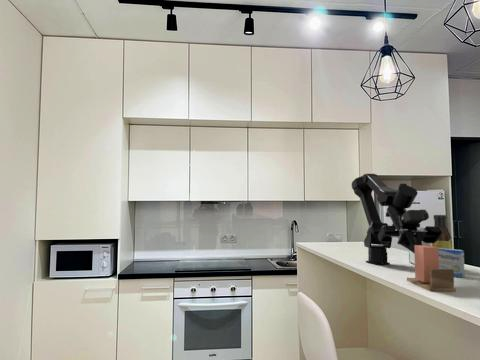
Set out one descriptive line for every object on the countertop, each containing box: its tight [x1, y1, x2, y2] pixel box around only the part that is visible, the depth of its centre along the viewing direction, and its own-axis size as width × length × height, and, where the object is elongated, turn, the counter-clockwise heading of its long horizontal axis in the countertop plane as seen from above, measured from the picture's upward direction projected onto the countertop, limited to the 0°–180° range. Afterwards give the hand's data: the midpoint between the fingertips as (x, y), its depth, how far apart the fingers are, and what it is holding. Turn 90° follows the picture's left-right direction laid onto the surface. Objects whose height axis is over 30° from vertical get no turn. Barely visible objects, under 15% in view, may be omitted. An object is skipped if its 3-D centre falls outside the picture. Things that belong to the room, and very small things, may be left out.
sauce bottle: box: [431, 214, 453, 249], centre depth 113 cm, size 6×6×20 cm
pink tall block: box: [414, 245, 439, 283], centre depth 91 cm, size 4×4×10 cm
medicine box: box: [438, 248, 466, 278], centre depth 104 cm, size 8×4×9 cm, turn 47°
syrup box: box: [408, 226, 432, 265], centre depth 122 cm, size 6×6×14 cm
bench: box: [406, 269, 457, 293], centre depth 90 cm, size 12×7×6 cm, turn 1°
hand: (420, 255), depth 94 cm, fingers closed
